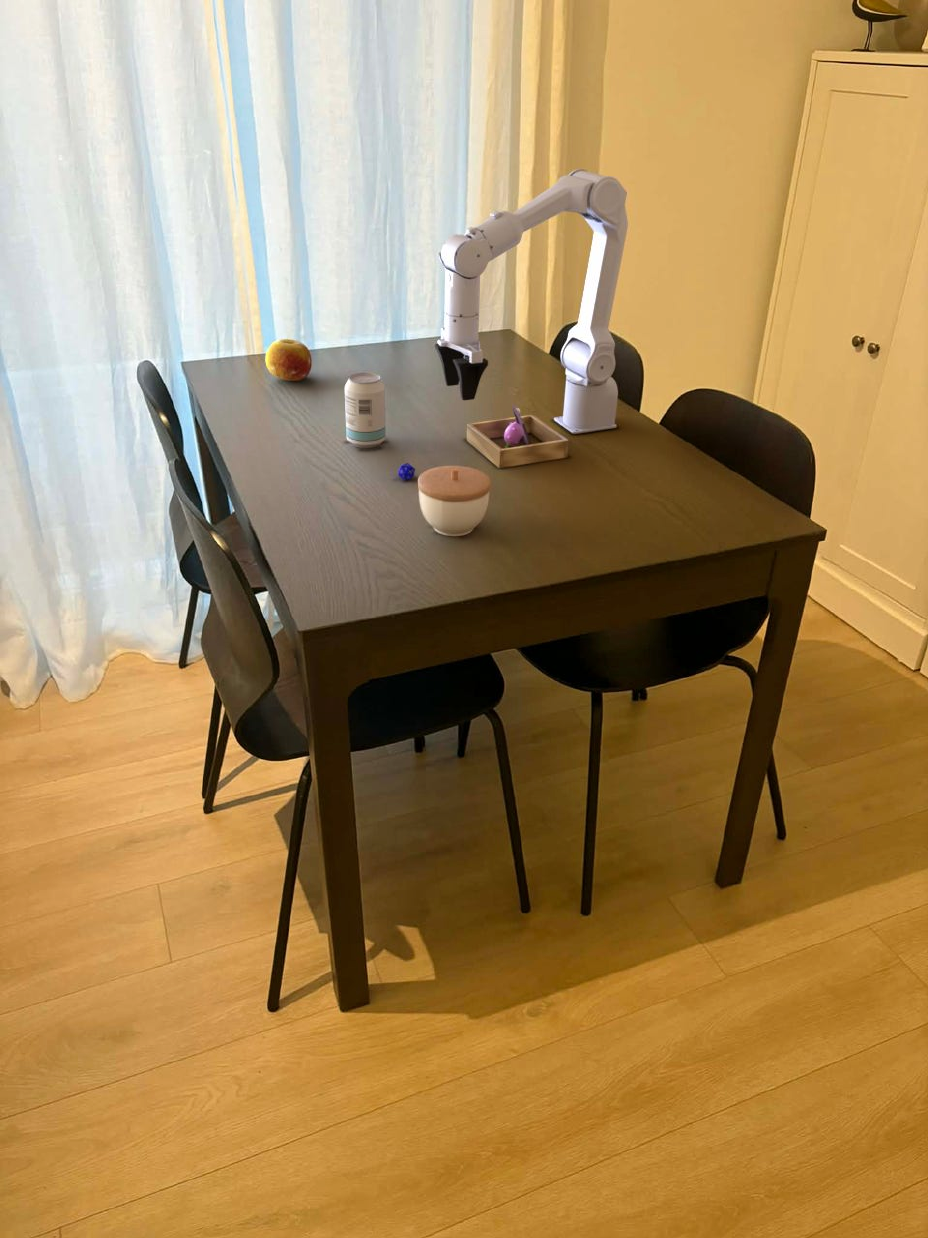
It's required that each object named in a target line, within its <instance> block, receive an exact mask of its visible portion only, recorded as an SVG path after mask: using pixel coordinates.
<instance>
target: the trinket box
mask: <svg viewBox="0 0 928 1238" xmlns="http://www.w3.org/2000/svg"><path fill="white" fill-rule="evenodd" d="M491 481H492V480H491V478H490V477H489V476H488V475H487V474H486V473H485V472H483V471H482V470H479V469H476V468H473V467H469V466H462V465H443V466H437V467H436V466H435V467H433V468H430V469H428V470H425V471H423V472H422V473H421V474H420V475H419V477H418V478H417V488H418V502H419V507H420V511H421V513H422V516H423V518H424V519H425V521H426V522H427V523H428V524H429V525H430V526H431V527H432V528H433V530H434V531H435V532H436V533H438V534H440V535H442V536H447V537H460V536H465V535H468V534H470V533H471V532H472V531H473V530H474V529H475V528H476V527H477V526H478V525H479V524H480V523H481V522H482V521H483V519H484V517H485V516H486V513H487V510H488V506H489V502H490V492H491V485H492V482H491Z"/></svg>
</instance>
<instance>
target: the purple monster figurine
mask: <svg viewBox="0 0 928 1238" xmlns="http://www.w3.org/2000/svg"><path fill="white" fill-rule="evenodd" d="M511 409H512V411H513V414H514V417H515V418H516V422H513V423H511V424H510V425H509V426H508V428H507V429H506V431H505V433H504V437H503V440H504V442H505V443H506V445H505V446H504V448H503V449H505V448H510V447H515V446H517V445H518V444H519V442H520V441H521V440H522V442H523V444H524V446H525V445H531V442H530V439H529V435H528V433H527V431H526V428H525V425H524V422H523V421H522V419H521V416H522V415H520V414H521V409H520V408H519V407H516V406H515V405H512V406H511ZM518 419H519V420H518ZM519 422H520V423H519Z"/></svg>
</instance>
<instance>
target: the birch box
mask: <svg viewBox="0 0 928 1238" xmlns="http://www.w3.org/2000/svg"><path fill="white" fill-rule="evenodd" d="M520 416H521V419H522V421H523V422H524V425H525V428H526V431H527V434H532V435H533V436H534V437H535V438H537V439H538V440H539V441H540V442H538V443H532V444H531V443H530V444H531V445H525V444H524V445H519V446H518V445H517V446H510V447H508V448H505V447H504V448H505V449H504V448H502V447H500V446H499V445H498V444H496V443H495V442H494V441H493V440H492V439H496V438H497V439H498V438H504V433H505V431H506V429H507V428H508V426H509V425H510V424H511V423H513V422H516V418H515V416H513V417H507V418H501V419H499V418H498V419H492V420H486V421H478V422H477V421H476V422H470V423H467V424H466V442H468V443H469V444H470V445H471V446H472V447H473V448H474V449H476V450H477V451H478V452H479V453H481V454H482V455H483V456H484V457H485V458H486V459H488V460H489V461H490V462H491V463H492V464H494V465H495V466H496V467H497V469H503V468H510V467H516V466H521V465H528V464H535V463H540V462H546V461H552V460H553V461H554V460H559V459H560V460H561V459H566V458H568V454H569V442H570V440H569V439H568V438H566V436H564V435H562V434H561V433H559V432H558V431H556V430H555V429H553V428H552V427H551V426H550V425H548V424H547V423H546V422H544V421H542V420H541V419H540V418H538V417H537V416H536V415H535V414H528V415H527V414H526V415H520ZM518 420H519V419H518ZM519 423H520V422H519Z"/></svg>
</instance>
